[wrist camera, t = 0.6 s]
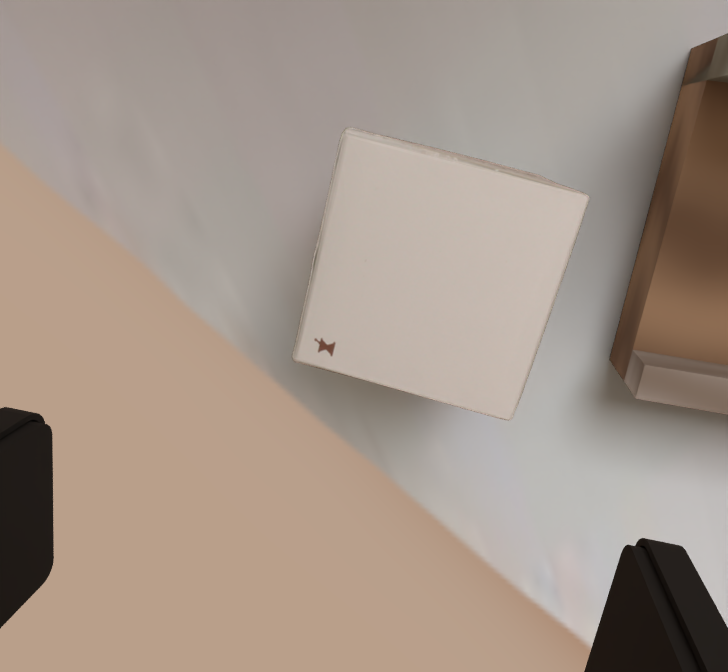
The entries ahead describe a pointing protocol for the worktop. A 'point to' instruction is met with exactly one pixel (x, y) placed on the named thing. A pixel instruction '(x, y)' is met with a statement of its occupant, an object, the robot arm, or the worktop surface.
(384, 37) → the worktop surface
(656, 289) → the wall shelf
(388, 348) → the supplement box
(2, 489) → the robot arm
